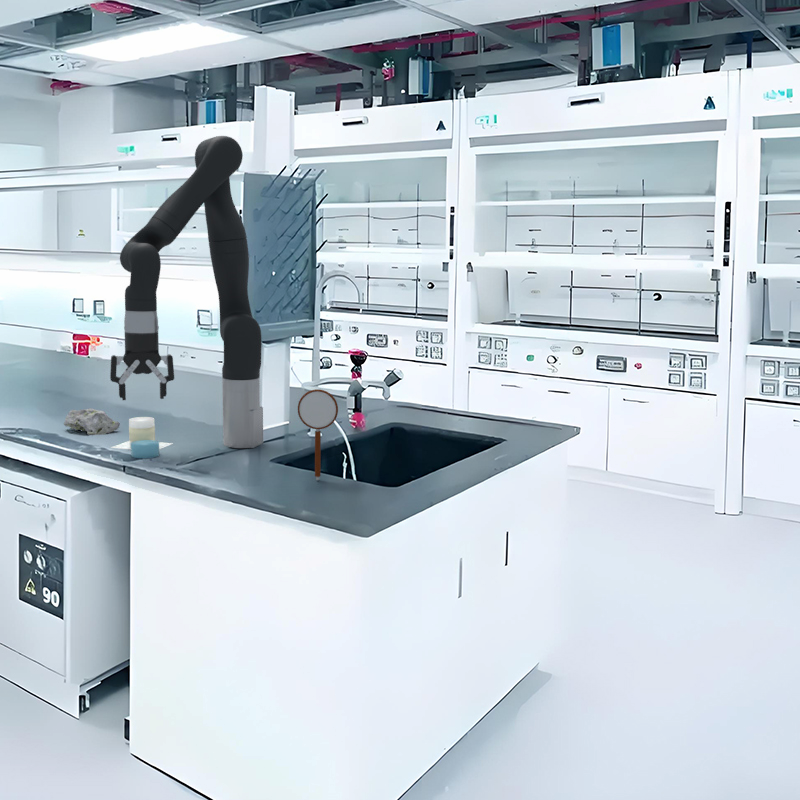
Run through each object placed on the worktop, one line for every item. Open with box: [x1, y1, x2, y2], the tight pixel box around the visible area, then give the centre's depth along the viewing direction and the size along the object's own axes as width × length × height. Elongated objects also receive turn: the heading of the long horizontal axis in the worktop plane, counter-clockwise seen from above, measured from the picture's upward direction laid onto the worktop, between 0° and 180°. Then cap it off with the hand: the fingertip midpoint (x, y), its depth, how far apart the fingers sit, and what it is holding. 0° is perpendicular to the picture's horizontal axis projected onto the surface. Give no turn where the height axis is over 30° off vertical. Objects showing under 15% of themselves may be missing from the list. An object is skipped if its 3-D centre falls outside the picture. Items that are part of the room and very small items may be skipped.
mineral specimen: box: [63, 407, 121, 436], centre depth 228 cm, size 16×7×7 cm, turn 69°
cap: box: [130, 439, 160, 459], centre depth 204 cm, size 6×6×4 cm
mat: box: [110, 440, 174, 451], centre depth 214 cm, size 12×9×1 cm
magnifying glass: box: [297, 389, 339, 482], centre depth 184 cm, size 9×2×20 cm, turn 89°
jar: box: [128, 416, 156, 448], centre depth 211 cm, size 6×6×7 cm
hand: (142, 399), depth 202 cm, fingers open, 8 cm apart
